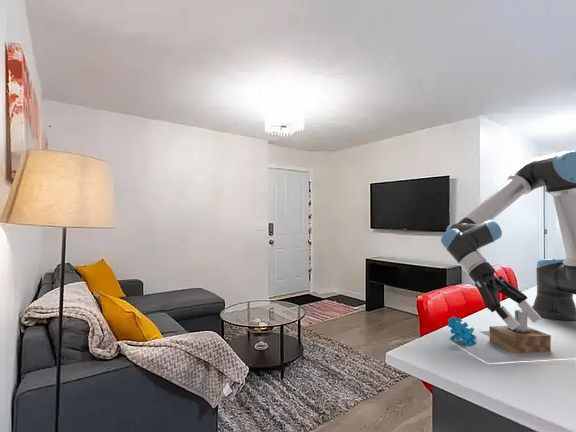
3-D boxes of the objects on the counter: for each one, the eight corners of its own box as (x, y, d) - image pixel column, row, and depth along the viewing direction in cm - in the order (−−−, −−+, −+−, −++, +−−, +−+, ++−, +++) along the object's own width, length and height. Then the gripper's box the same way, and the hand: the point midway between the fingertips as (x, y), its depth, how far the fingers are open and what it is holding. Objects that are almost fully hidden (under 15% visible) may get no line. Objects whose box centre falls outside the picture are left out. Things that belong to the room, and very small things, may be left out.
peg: (521, 345, 108) (521, 310, 108) (529, 349, 105) (530, 312, 105) (511, 345, 108) (512, 310, 108) (519, 349, 105) (520, 312, 105)
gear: (463, 344, 104) (444, 315, 111) (449, 354, 108) (432, 324, 115) (485, 343, 109) (467, 315, 116) (472, 352, 113) (454, 324, 120)
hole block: (523, 340, 113) (523, 325, 113) (550, 352, 103) (550, 335, 103) (489, 342, 111) (489, 326, 111) (513, 354, 101) (513, 337, 101)
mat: (505, 331, 122) (505, 330, 122) (523, 339, 114) (523, 338, 114) (479, 332, 120) (479, 331, 120) (495, 340, 113) (495, 339, 113)
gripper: (489, 271, 127) (536, 323, 114) (448, 278, 113) (496, 337, 101) (504, 258, 122) (555, 311, 110) (463, 263, 109) (516, 324, 96)
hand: (527, 324), depth 105 cm, fingers open, 13 cm apart
